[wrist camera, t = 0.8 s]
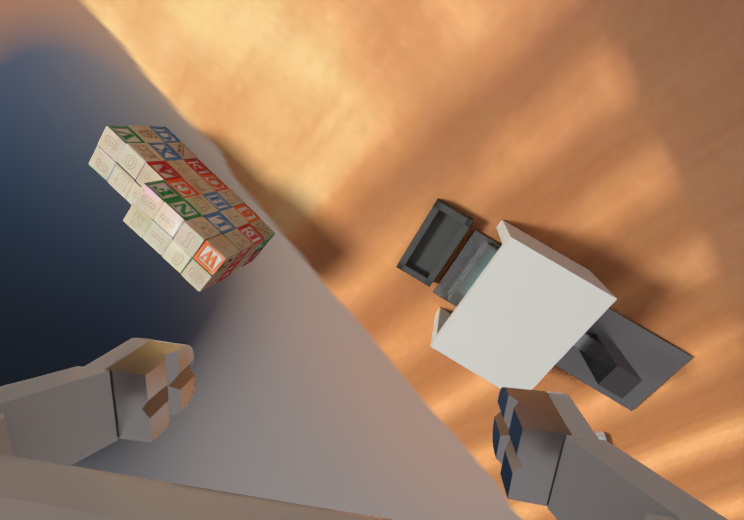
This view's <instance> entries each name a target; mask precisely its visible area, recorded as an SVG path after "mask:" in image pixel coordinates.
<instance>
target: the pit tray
mask: <svg viewBox="0 0 744 520" xmlns="http://www.w3.org/2000/svg"><path fill="white" fill-rule="evenodd" d="M472 223H473V219H472V218H470V217H469V216H467V215H465V214H464V213H462V212H460V211H458V210H457V209H455V208H453V207H452V206H450V205H448V204H446V203H445V202H443V201H441V200H440V199H437V201H436V202H435V204H434V206H433V207H432V209H431V211H430V212H429V214H428V215H427V217H426V219H425V220H424V222H423V224H422V225H421V227H420V229H419V230H418V232H417V233H416V235H415V237H414V238H413V240H412V242H411V243H410V245H409V247H408V248H407V250H406V251H405V253H404V255H403V256H402V258H401V260H400V261H399V263H398V265H397V268H399V269H401V270H402V271H404V272H406V273H407V274H409V275H411V276H412V277H414V278H416V279H417V280H419V281H421V282H422V283H424V284H426V285H427V286H429V287H430V285H431V284H432V282H433V281H434V279H435V278H436V277H437V275H438V274H439V272H440V271H441V269H442V268H443V266H444V265H445V263H446V262H447V260H448V259H449V257H450V256H451V254H452V253H453V251H454V250H455V248H456V247H457V245H458V244H459V242H460V241H461V239H462V238H463V236H464V235H465V233H466V232H467V230H468V229H469V227H470V226H471V224H472Z"/></svg>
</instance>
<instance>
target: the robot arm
mask: <svg viewBox="0 0 744 520" xmlns="http://www.w3.org/2000/svg"><path fill="white" fill-rule="evenodd" d="M193 361H194V356H193V349H192V348H191V347H190V346H189V345H183V344H177V343H170V342H164V341H157V340H152V339H142V338H132V339H130V340H128V341H127V342H125V343H123V344H121V345H120V346H118V347H116V348H115V349H113V350H111V351H110V352H108V353H107V354H105V355H103V356H101V357H100V358H98V359H96V360H95V361H93V362H91V363H90V364H88V365H86V366H85V367H79V366H77V367H74V368H70V369H66V370H62V371H58V372H54V373H51V374H47V375H43V376H39V377H36V378H32V379H28V380H24V381H20V382H17V383H13V384H9V385H5V386H2V387H0V520H391V519H385V518H379V517H373V516H367V515H361V514H355V513H349V512H343V511H337V510H332V509H325V508H319V507H313V506H307V505H301V504H295V503H289V502H283V501H277V500H272V499H266V498H259V497H254V496H247V495H242V494H236V493H230V492H224V491H218V490H212V489H206V488H200V487H193V486H188V485H182V484H176V483H170V482H164V481H158V480H152V479H146V478H140V477H134V476H129V475H123V474H116V473H110V472H105V471H98V470H93V469H87V468H81V467H75V466H70V465H72V464H74V463H76V462H78V461H79V460H81V459H83V458H85V457H87V456H89V455H91V454H92V453H94V452H96V451H98V450H100V449H102V448H104V447H105V446H107V445H109V444H111V443H113V442H115V441H117V439H118V438H120V439H128V440H136V441H144V442H153V441H154V439H155V438H156V437H157V436H158V435H159V434H160V433H161V432H162V431H163V430H164V429H165V428H166V427H167V426H168V425H169V424H170V416H172V415H175V414H177V413H179V412H181V411H182V410H183V409H184V408H185V407H186V406H187V405H188V403H189V401H190V399H191V397H192V395H193V393H194V387H195V375H194V374H193V372H192V371H191V370H190V368H189V367H190V365H191V364H192V363H193ZM498 404H499V407H500V410H501V412H500V413H499V414H498V415H496V416H495V418H494V424H493V448H494V453H495V456H496V459H497V460H498V461H499V462H500V463H502V467H501V473H500V474H501V478H502V481H503V485H504V488H505V491H506V495H507V498H508V499H512V500H517V501H523V502H528V503H534V504H539V505H544V506H548V509H549V510H550V511H551V513H552V514H553V515H554V516H555V517H556V518H557V519H558V520H728V519H726V518H724V517H723V516H721V515H720V514H718V513H717V512H715V511H714V510H712V509H711V508H709V507H708V506H706V505H704V504H703V503H701V502H700V501H698V500H697V499H695V498H694V497H692V496H691V495H689V494H688V493H686V492H685V491H683V490H681V489H680V488H678V487H677V486H675V485H674V484H672V483H671V482H669V481H668V480H666V479H665V478H663V477H661V476H660V475H658V474H657V473H655V472H654V471H652V470H651V469H649V468H648V467H646V466H645V465H643V464H642V463H640V462H638V461H637V460H635V459H634V458H632V457H631V456H629V455H628V454H626V453H625V452H623V451H622V450H620V449H618V448H617V447H615V446H614V445H612V444H611V443H609V442H608V441H606V440H599V439H598V437H597V436H596V434H595V433H594V431H593V430H592V428H591V427H590V426H589V424H588V423H587V421H586V420H585V418H584V417H583V415H582V414H581V412H580V411H579V410H578V408H577V407H576V405H575V404H574V402H573V401H572V399H571V398H570V397H569V395H567V394H565V393H557V392H546V391H536V390H527V389H518V388H508V387H502V388H501V390H500V393H499V397H498Z"/></svg>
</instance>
